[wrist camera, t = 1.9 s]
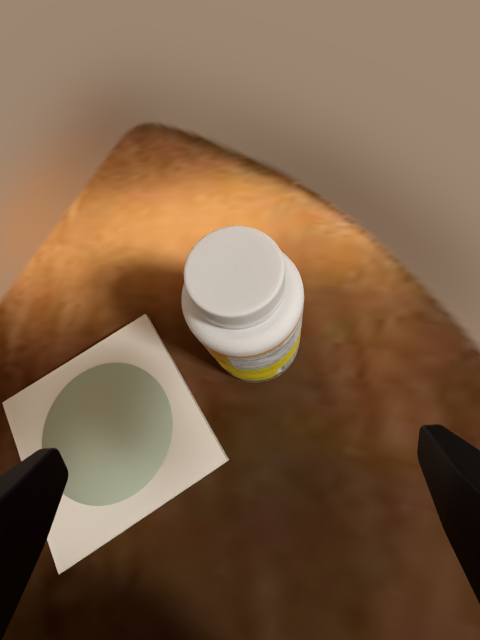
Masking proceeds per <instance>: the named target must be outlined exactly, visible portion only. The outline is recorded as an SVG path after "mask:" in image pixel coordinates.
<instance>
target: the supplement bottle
mask: <svg viewBox="0 0 480 640" xmlns="http://www.w3.org/2000/svg"><path fill="white" fill-rule="evenodd" d="M181 303H182V311H183V315H184V318H185V321H186V323H187V325H188V327H189V328H190V330H191V331H192V333H193V334H194V335H195V337H196V338H197V339H198V340H199V341H200V342H201V344H202V345H203V346H204V347H205V348H206V349H207V350H208V351H209V353H210V354H211V355H212V356H213V357H214V358H215V359H216V360H217V362H218V363H219V364H220V365H221V366H222V367H223V368H224V369H225V370H226V371H227V372H228V373H229V374H230V375H232V376H234V377H236V378H238V379H240V380H243V381H247V382H263V381H268V380H271V379H273V378H275V377H277V376H279V375H280V374H282V373H283V372H284V371H285V370H286V369H287V368H288V367H289V366H290V365H291V364H292V362H293V361H294V359H295V356H296V354H297V351H298V347H299V341H300V333H301V324H302V314H303V304H304V290H303V284H302V280H301V277H300V274H299V272H298V270H297V268H296V266H295V265H294V263H293V262H292V261H291V260H290V259H289V258H288V257H287V256H286V255H285V254H284V253H283V252H281V251H280V249H279V247H278V246H277V244H276V243H275V242H274V241H273V240H272V239H271V238H270V237H269V236H268V235H266V234H265V233H263V232H261V231H259V230H257V229H254V228H251V227H246V226H230V227H224V228H221V229H218V230H215V231H213V232H211V233H209V234H208V235H206V236H205V237H203V238H202V239H201V240H200V241H199V242H198V243H197V244H196V245H195V246H194V247H193V248H192V250H191V251H190V253H189V255H188V257H187V259H186V263H185V267H184V285H183V289H182V298H181Z"/></svg>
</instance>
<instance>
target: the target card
mask: <svg viewBox="0 0 480 640" xmlns="http://www.w3.org/2000/svg"><path fill="white" fill-rule="evenodd" d="M2 404H3V407H4V410H5V413H6V416H7V419H8V422H9V425H10V428H11V431H12V434H13V437H14V440H15V443H16V446H17V449H18V452H19V456H20V459H21V461H23V460H24V459H26V458H27V457H29V456H30V455H31V454H33V453H34V452H36V451H37V450H39V449H42V448H56V449H58V450H59V452H60V454H61V456H62V458H63V460H64V462H65V464H66V467H67V469H68V481H67V484H66V486H65V489H64V492H63V495H62V498H61V501H60V504H59V507H58V509H57V512H56V515H55V518H54V521H53V524H52V527H51V529H50V532H49V535H48V537H47V541H48V544H49V547H50V550H51V553H52V556H53V559H54V562H55V565H56V568H57V571H58V574H60V573H62V572H64V571H66V570H67V569H69V568H70V567H71V566H73V565H74V564H76V563H77V562H79V561H80V560H82V559H83V558H85V557H86V556H88V555H89V554H91V553H92V552H94V551H95V550H97V549H98V548H100V547H101V546H103V545H104V544H106V543H107V542H109V541H110V540H111V539H113V538H114V537H116V536H117V535H119V534H120V533H122V532H123V531H125V530H126V529H128V528H129V527H131V526H132V525H134V524H135V523H137V522H138V521H140V520H141V519H143V518H144V517H146V516H147V515H149V514H150V513H151V512H153V511H154V510H156V509H157V508H159V507H160V506H162V505H163V504H165V503H166V502H168V501H169V500H171V499H172V498H174V497H175V496H177V495H178V494H180V493H181V492H183V491H184V490H186V489H187V488H189V487H190V486H191V485H193V484H194V483H196V482H197V481H199V480H200V479H202V478H203V477H205V476H206V475H208V474H209V473H211V472H212V471H214V470H215V469H217V468H218V467H220V466H221V465H223V464H224V463H226V462H227V461H229V459H228V457H227V455H226V454H225V452H224V450H223V448H222V447H221V445H220V443H219V441H218V439H217V438H216V436H215V434H214V432H213V431H212V429H211V427H210V425H209V424H208V422H207V420H206V418H205V416H204V415H203V413H202V411H201V409H200V408H199V406H198V404H197V402H196V400H195V399H194V397H193V395H192V393H191V392H190V390H189V388H188V386H187V384H186V383H185V381H184V379H183V377H182V376H181V374H180V372H179V370H178V368H177V367H176V365H175V363H174V361H173V360H172V358H171V356H170V354H169V352H168V351H167V349H166V347H165V345H164V344H163V342H162V340H161V338H160V336H159V335H158V333H157V331H156V329H155V328H154V326H153V324H152V322H151V320H150V319H149V317H148V316H147V315H146V314H144V315H143V316H141V317H139V318H138V319H136V320H135V321H133V322H131V323H130V324H128V325H127V326H125V327H123V328H122V329H120V330H118V331H117V332H115V333H114V334H112V335H110V336H109V337H107V338H106V339H104V340H102V341H101V342H99V343H98V344H96V345H94V346H93V347H91V348H89V349H88V350H86V351H85V352H83V353H81V354H80V355H78V356H77V357H75V358H73V359H72V360H70V361H69V362H67V363H65V364H64V365H62V366H61V367H59V368H57V369H56V370H54V371H52V372H51V373H49V374H48V375H46V376H44V377H43V378H41V379H40V380H38V381H36V382H35V383H33V384H32V385H30V386H28V387H27V388H25V389H23V390H22V391H20V392H19V393H17V394H15V395H14V396H12V397H11V398H9V399H7V400H6V401H4V402H3V403H2Z"/></svg>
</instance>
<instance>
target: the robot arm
mask: <svg viewBox="0 0 480 640" xmlns="http://www.w3.org/2000/svg"><path fill="white" fill-rule="evenodd" d="M417 454H418V460H419V463H420V466H421V469H422V471H423V474H424V477H425V480H426V482H427V485H428V488H429V491H430V493H431V496H432V499H433V502H434V504H435V507H436V510H437V513H438V515H439V518H440V521H441V523H442V526H443V528H444V531H445V533H446V535H447V537H448V539H449V541H450V544H451V546H452V548H453V550H454V552H455V554H456V556H457V558H458V560H459V562H460V564H461V566H462V568H463V570H464V572H465V575H466V577H467V579H468V581H469V583H470V585H471V587H472V589H473V591H474V593H475V595H476V597H477V599H478V601H479V603H480V450H479V449H477V448H476V447H474V446H473V445H471V444H470V443H468V442H467V441H465V440H464V439H462V438H460V437H459V436H457V435H456V434H454V433H453V432H451V431H450V430H448V429H447V428H445V427H444V426H442V425H439V424H434V425H423V426H421V428H420V432H419V441H418V450H417ZM67 481H68V469H67V467H66V464H65V462H64V460H63V458H62V456H61V454H60V452H59V450H58V449H56V448H42V449H39V450H37V451H36V452H34V453H33V454H31V455H30V456H29V457H27V458H26V459H24V460H23V461H21V462H20V463H18V464H17V465H15V466H14V467H13V468H11V469H10V470H8V471H7V472H5V473H4V474H2V475H1V476H0V640H2V638H3V636H4V634H5V632H6V629H7V627H8V625H9V623H10V621H11V618H12V616H13V614H14V612H15V610H16V607H17V605H18V603H19V601H20V598H21V596H22V594H23V592H24V590H25V587H26V585H27V583H28V581H29V579H30V576H31V574H32V572H33V570H34V567H35V565H36V563H37V561H38V559H39V556H40V554H41V552H42V550H43V547H44V545H45V543H46V540H47V537H48V535H49V532H50V529H51V527H52V524H53V521H54V518H55V515H56V512H57V509H58V507H59V504H60V501H61V498H62V495H63V492H64V489H65V486H66V484H67Z"/></svg>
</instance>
